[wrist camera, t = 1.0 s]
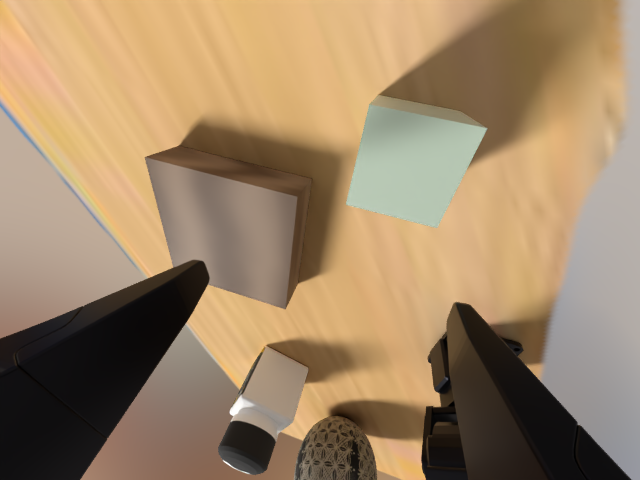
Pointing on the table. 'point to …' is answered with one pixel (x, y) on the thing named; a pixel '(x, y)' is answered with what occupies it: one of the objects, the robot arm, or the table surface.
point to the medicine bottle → (262, 411)
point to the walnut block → (233, 220)
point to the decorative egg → (335, 452)
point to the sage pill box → (412, 159)
